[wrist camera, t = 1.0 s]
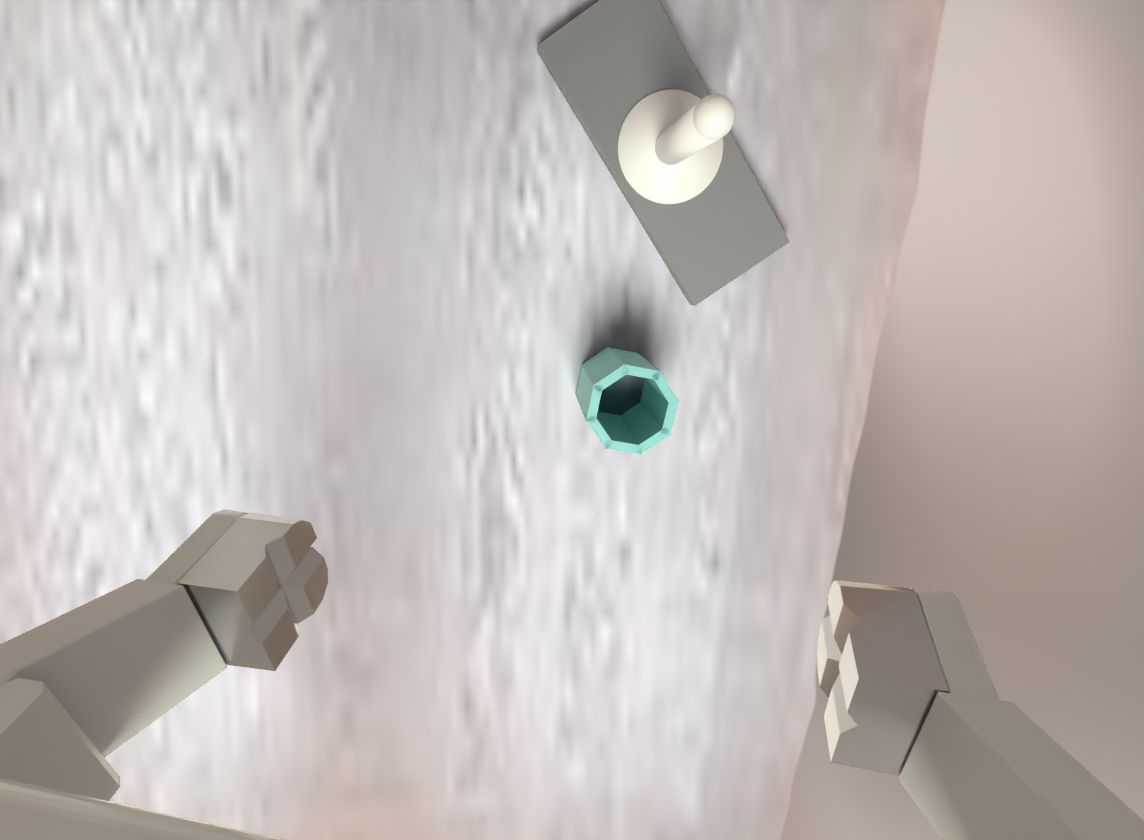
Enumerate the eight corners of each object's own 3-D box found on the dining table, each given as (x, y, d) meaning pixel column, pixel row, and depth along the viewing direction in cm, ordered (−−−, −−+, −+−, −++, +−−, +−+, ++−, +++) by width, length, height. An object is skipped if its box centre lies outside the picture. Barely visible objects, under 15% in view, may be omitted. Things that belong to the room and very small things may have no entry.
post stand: (537, 52, 42) (544, -31, 30) (637, -21, 42) (686, -136, 29) (689, 304, 47) (748, 320, 35) (781, 242, 47) (873, 237, 34)
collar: (563, 376, 48) (571, 399, 40) (625, 334, 47) (646, 349, 40) (603, 435, 49) (619, 468, 42) (664, 394, 49) (691, 420, 41)
